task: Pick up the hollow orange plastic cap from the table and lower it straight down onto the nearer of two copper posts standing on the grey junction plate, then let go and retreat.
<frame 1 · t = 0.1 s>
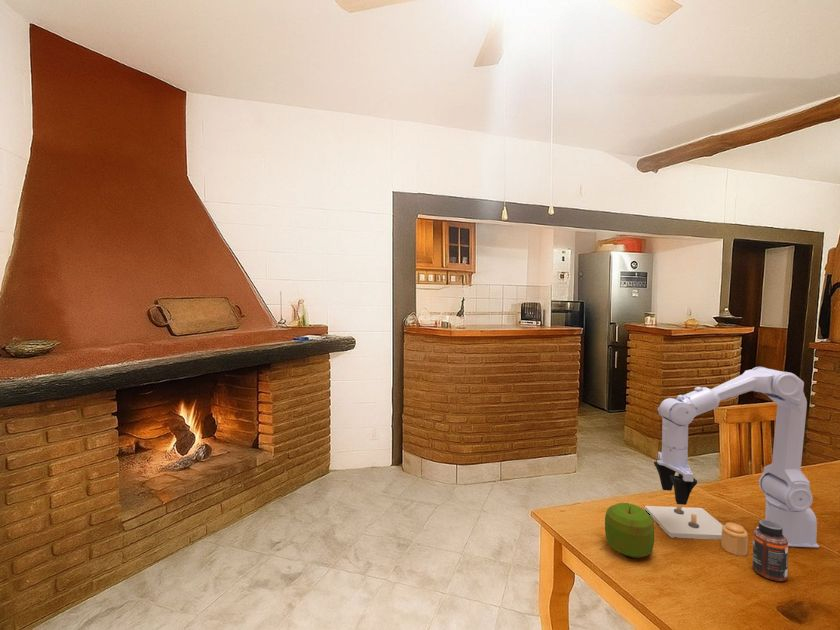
hand: (673, 496, 106), 10 cm above the table, fingers open, 7 cm apart
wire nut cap: (734, 549, 99), on the table
supplement bottle: (769, 574, 90), on the table
apple: (628, 550, 99), on the table
junction plate: (687, 524, 111), on the table
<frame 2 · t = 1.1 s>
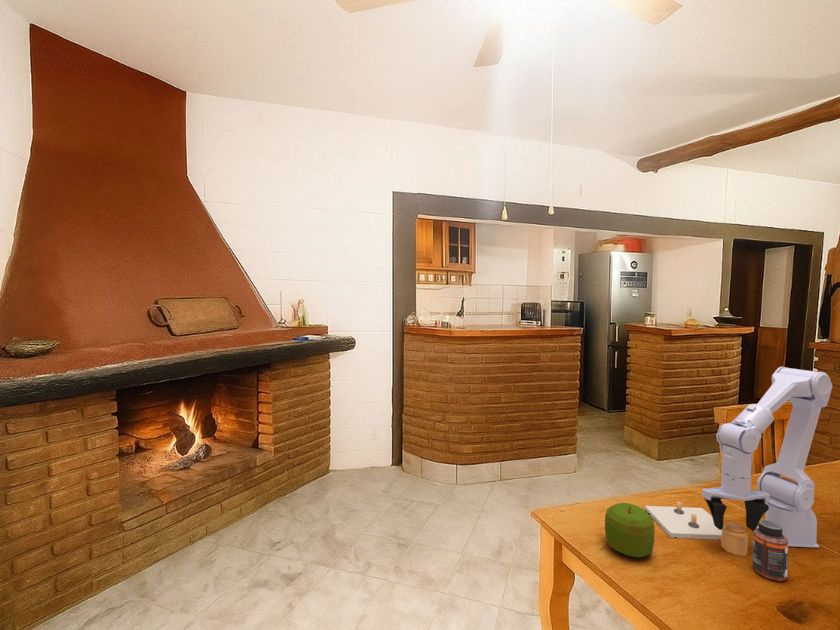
hand: (734, 528, 99), 5 cm above the table, fingers open, 7 cm apart
nothing on the table moved.
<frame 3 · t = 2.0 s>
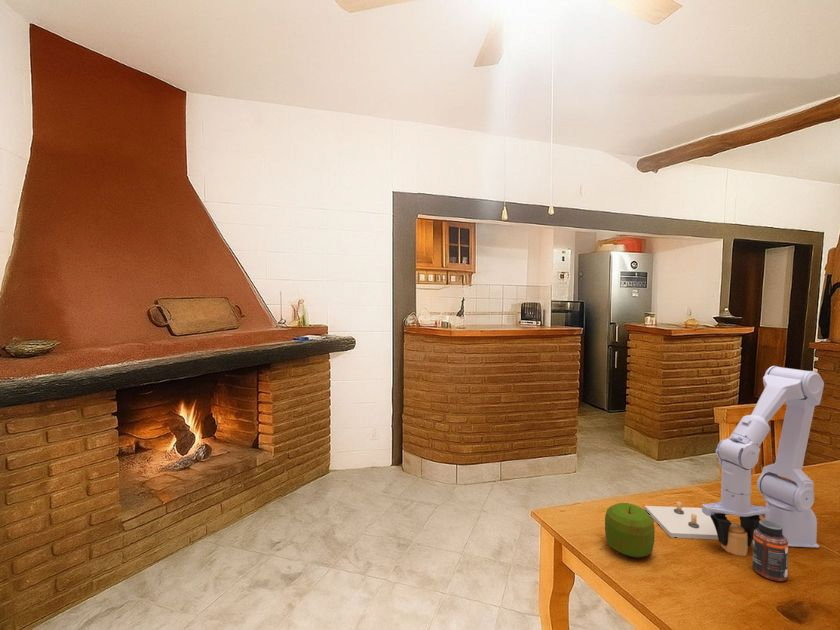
hand: (734, 543, 99), 1 cm above the table, fingers closed on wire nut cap, 5 cm apart
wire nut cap: (734, 549, 99), on the table, touching gripper
everything else where it was.
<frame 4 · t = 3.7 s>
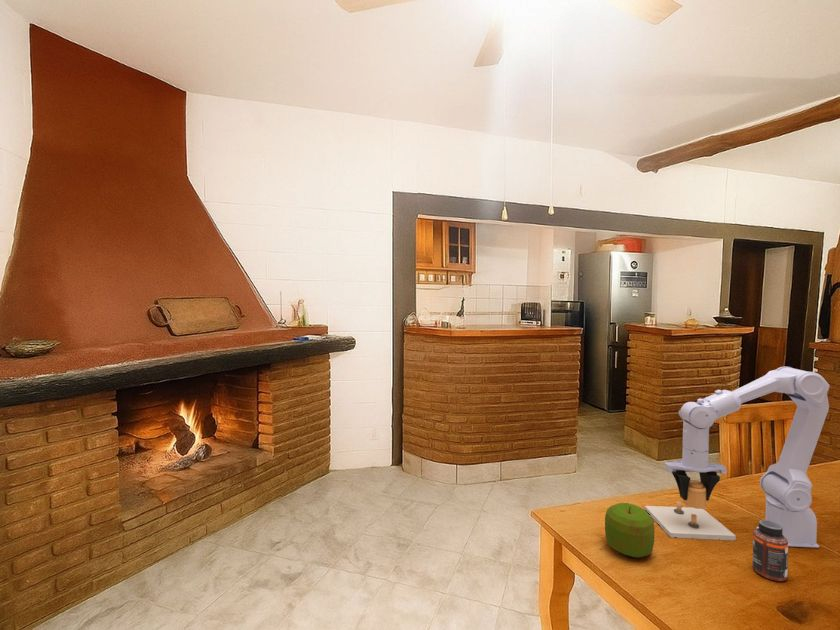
hand: (694, 498, 107), 9 cm above the table, fingers closed on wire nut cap, 5 cm apart
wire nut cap: (694, 504, 107), point 7 cm above the table, touching gripper
everything else where it was.
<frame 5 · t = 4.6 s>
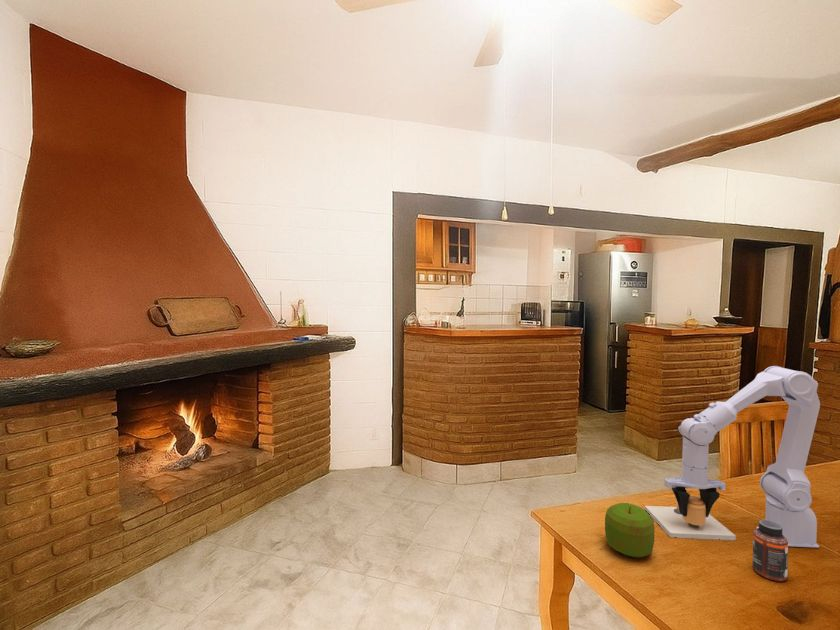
hand: (693, 514, 108), 4 cm above the table, fingers closed on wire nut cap, 5 cm apart
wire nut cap: (693, 520, 107), point 3 cm above the table, touching gripper
everything else where it was.
when the fingers open (4 cm above the table, at t = 5.2 s): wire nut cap drops 1 cm, resting on junction plate.
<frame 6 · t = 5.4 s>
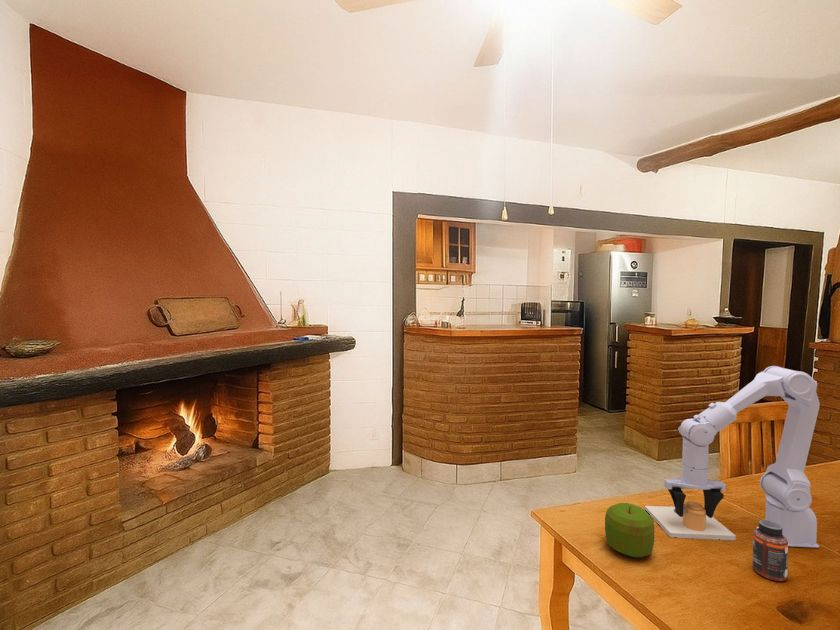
hand: (693, 515, 108), 4 cm above the table, fingers open, 7 cm apart
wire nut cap: (693, 526, 108), point 1 cm above the table, touching junction plate
everything else where it was.
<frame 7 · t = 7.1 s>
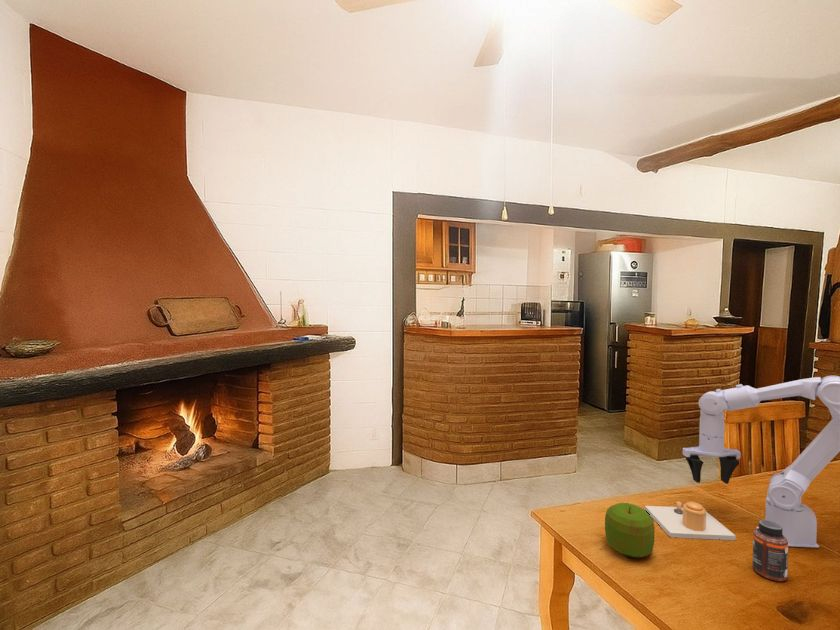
hand: (710, 481, 115), 10 cm above the table, fingers open, 7 cm apart
nothing on the table moved.
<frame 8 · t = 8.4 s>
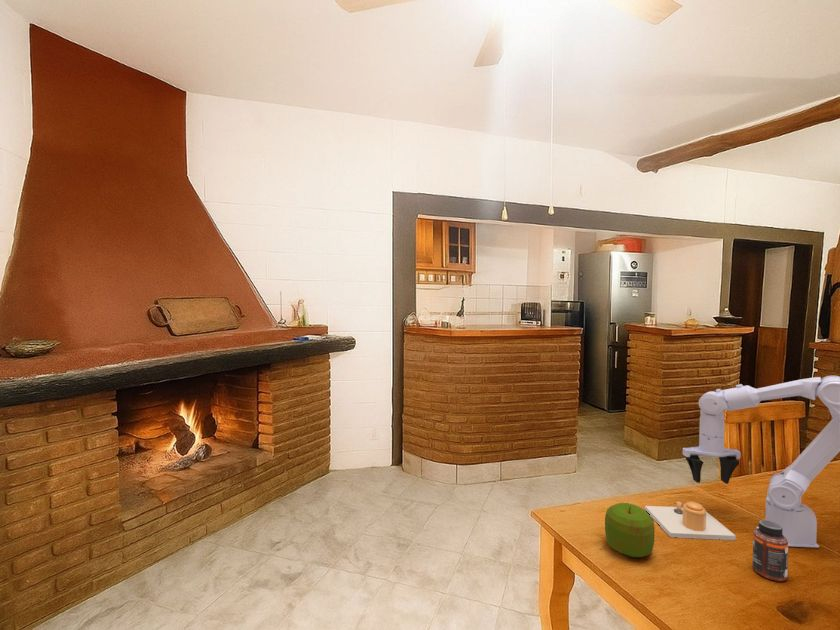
hand: (710, 481, 115), 10 cm above the table, fingers open, 7 cm apart
nothing on the table moved.
at the end: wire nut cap 0.1 cm from the target spot, point 1.2 cm above the table; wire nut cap tilted 0°; the gripper is holding nothing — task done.
